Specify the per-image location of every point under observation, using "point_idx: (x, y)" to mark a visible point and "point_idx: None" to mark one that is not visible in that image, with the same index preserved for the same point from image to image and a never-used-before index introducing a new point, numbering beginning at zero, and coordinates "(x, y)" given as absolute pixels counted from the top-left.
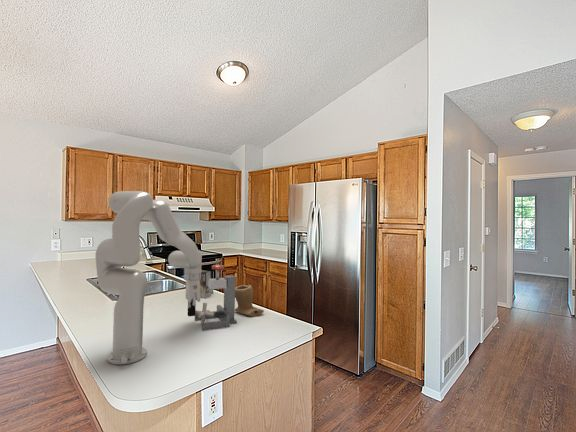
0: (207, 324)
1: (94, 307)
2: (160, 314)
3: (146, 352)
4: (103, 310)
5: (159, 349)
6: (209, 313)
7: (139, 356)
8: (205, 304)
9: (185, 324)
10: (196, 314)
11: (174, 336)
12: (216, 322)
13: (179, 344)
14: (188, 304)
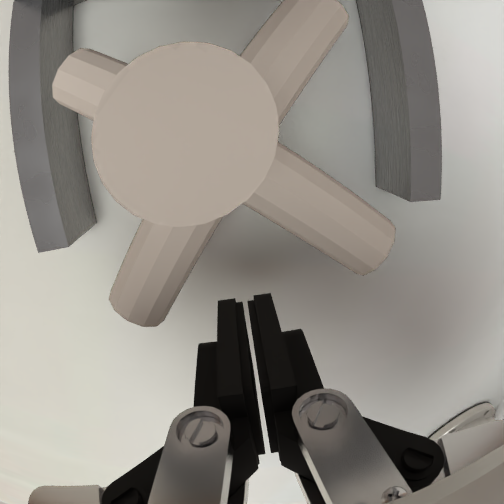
0: (436, 146)
1: (14, 490)
2: (4, 404)
3: (482, 409)
4: (26, 489)
5: (473, 384)
6: (313, 62)
7: (491, 413)
8: (273, 124)
9: (182, 312)
10: (62, 234)
11: (397, 364)
12: (431, 48)
13: (488, 326)
14: (245, 499)
